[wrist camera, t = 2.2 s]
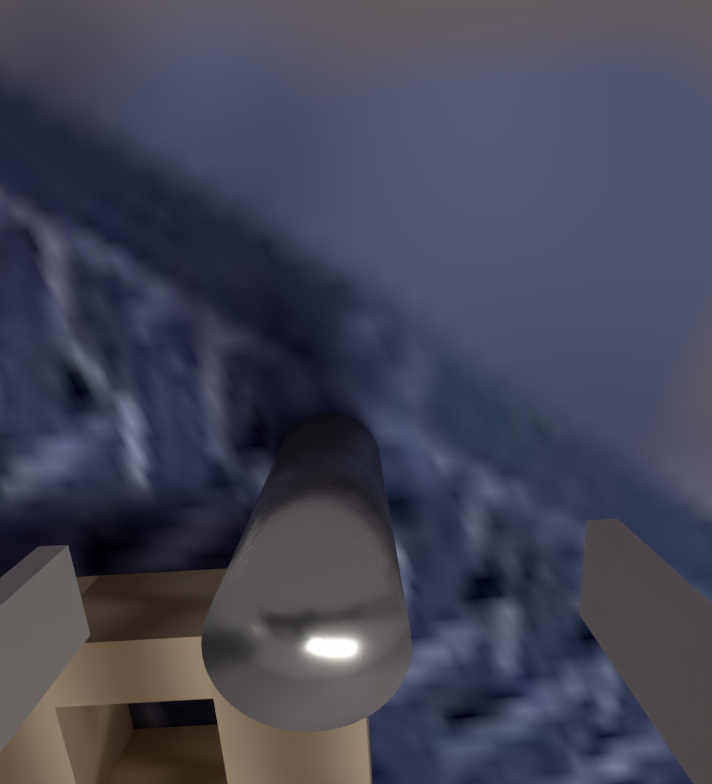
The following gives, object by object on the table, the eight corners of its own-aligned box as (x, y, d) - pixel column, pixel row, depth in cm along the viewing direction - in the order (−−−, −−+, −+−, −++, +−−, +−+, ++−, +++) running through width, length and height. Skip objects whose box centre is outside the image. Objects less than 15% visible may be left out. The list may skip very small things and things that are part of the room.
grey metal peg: (284, 510, 19) (216, 737, 9) (274, 416, 18) (186, 564, 8) (382, 504, 19) (414, 726, 9) (377, 410, 18) (408, 551, 8)
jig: (32, 778, 23) (-54, 911, 18) (-28, 583, 20) (-151, 678, 15) (370, 759, 23) (376, 887, 18) (358, 561, 20) (361, 649, 15)
